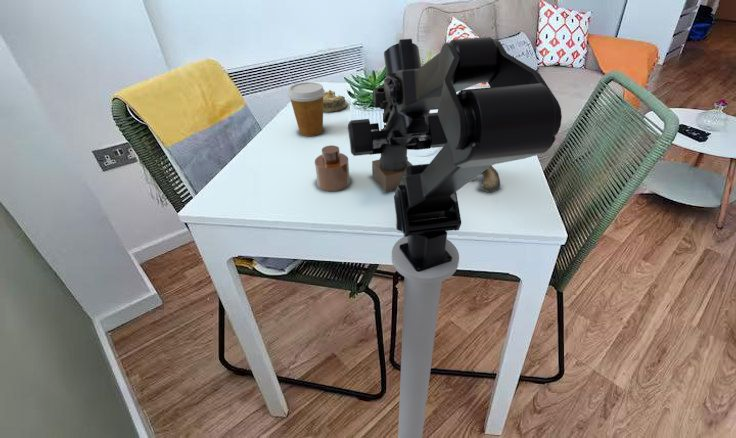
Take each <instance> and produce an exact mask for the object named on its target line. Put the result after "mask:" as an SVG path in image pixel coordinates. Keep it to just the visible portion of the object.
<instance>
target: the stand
mask: <svg viewBox="0 0 736 438" xmlns="http://www.w3.org/2000/svg"><path fill="white" fill-rule="evenodd" d="M412 165H413V164H412V163H411V162H410V161H409V160H408V162H407V166H406V167H405V169H406V168H407V167H408V166H412ZM371 168H372V169H371V170H372V172H371V173H372V174H371V175H372V178H373V179H374V181H375V182H376V184H378V185H379V187H380V188H381V189H382V190H383V192H385V193H390V192H394V191H396V189H397V186H399V185H400V181H401V179H402V178H403V176H402V173H404V172H405V169H403V170H399V171H389V170H385V169H383V168H382V167H381V166H380V158H379V159H375V160H372V161H371Z"/></svg>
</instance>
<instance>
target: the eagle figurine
mask: <svg viewBox="0 0 736 438" xmlns="http://www.w3.org/2000/svg"><path fill="white" fill-rule="evenodd" d="M480 175H482V176H483V177H482V179H483V181H482V183H481V187H480V189H481V190H482V191H483V192H486V193H490V194H491V193H492V192H495V191H498V189H499V188H500V186H501V179H500V175H499V173H498V171H497V170H496V169H495V168H494V167H493V165H492V166H491V167H489V168H488V169H486V170H485V171H484V172H482V173H481V174H480ZM480 175H478V176H477V177H475V178H474V179H473V180H476V179H477V178H478V177H479V176H480Z"/></svg>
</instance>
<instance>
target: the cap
mask: <svg viewBox="0 0 736 438" xmlns="http://www.w3.org/2000/svg"><path fill="white" fill-rule="evenodd" d="M381 130H384V128H383V129H381V128H380V131H381ZM383 139H385V138H383ZM386 139H387V138H386ZM382 152H383V153H382V154H380V157H379V159H380V166H381V167H382V168H383V169H385V170H389V171H399V170H403V169H405V167H406V166H407V162H408V161H409V160H408V158H409V157H408V150H407V146H399V147H390V146H389V144H382Z"/></svg>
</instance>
